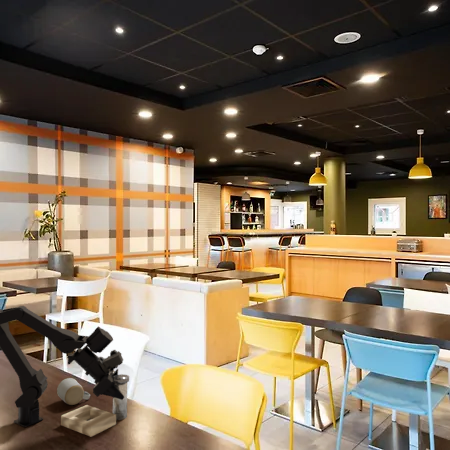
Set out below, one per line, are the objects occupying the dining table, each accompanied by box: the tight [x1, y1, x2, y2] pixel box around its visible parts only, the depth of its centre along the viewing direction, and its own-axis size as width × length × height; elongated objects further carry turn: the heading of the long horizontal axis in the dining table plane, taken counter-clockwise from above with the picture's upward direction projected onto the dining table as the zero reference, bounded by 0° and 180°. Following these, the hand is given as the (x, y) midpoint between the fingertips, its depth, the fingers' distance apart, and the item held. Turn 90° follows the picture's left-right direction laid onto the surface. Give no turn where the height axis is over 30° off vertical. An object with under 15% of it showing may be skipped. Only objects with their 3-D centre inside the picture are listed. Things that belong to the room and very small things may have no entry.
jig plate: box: [60, 404, 117, 438], centre depth 134 cm, size 14×10×3 cm
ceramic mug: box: [56, 377, 91, 406], centre depth 152 cm, size 11×8×8 cm
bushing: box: [112, 373, 130, 421], centre depth 140 cm, size 6×6×13 cm
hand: (124, 395), depth 140 cm, fingers open, 6 cm apart
